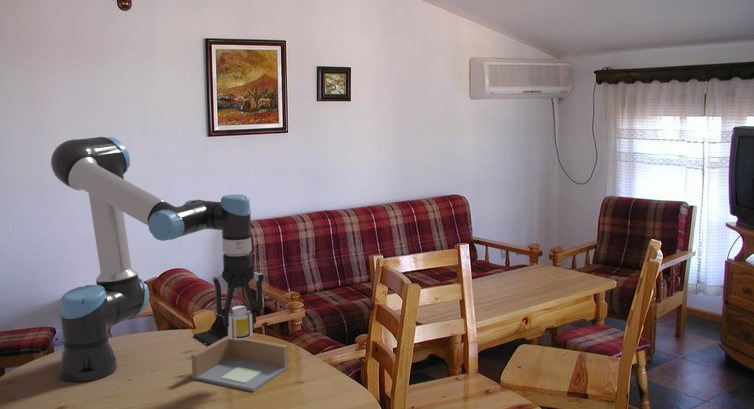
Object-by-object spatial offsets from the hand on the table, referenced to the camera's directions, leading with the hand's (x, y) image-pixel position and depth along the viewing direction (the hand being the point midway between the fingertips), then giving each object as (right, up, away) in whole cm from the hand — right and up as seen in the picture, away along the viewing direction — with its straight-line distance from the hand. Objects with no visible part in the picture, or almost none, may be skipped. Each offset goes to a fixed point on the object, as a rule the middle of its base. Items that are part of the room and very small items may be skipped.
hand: (240, 336), depth 190 cm
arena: (-1, -11, +5) cm, 12 cm away
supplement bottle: (0, 0, 0) cm, 1 cm away
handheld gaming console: (-15, -7, +33) cm, 36 cm away
